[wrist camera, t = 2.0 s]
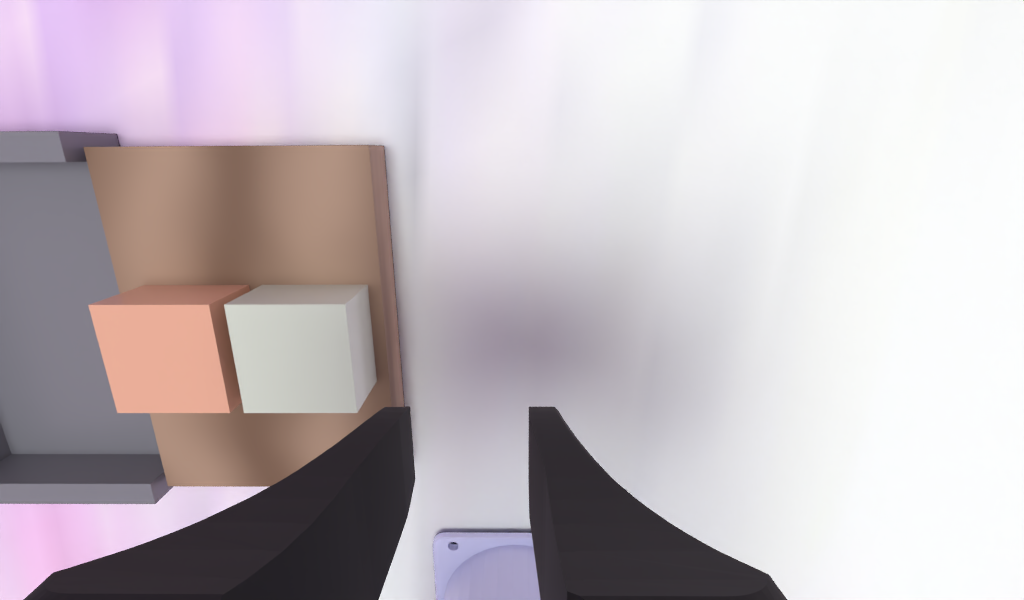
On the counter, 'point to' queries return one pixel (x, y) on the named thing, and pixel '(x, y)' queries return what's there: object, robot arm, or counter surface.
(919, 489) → the counter surface
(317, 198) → the walnut board
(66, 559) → the counter surface
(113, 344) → the terracotta tile
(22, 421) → the tray
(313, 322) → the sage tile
